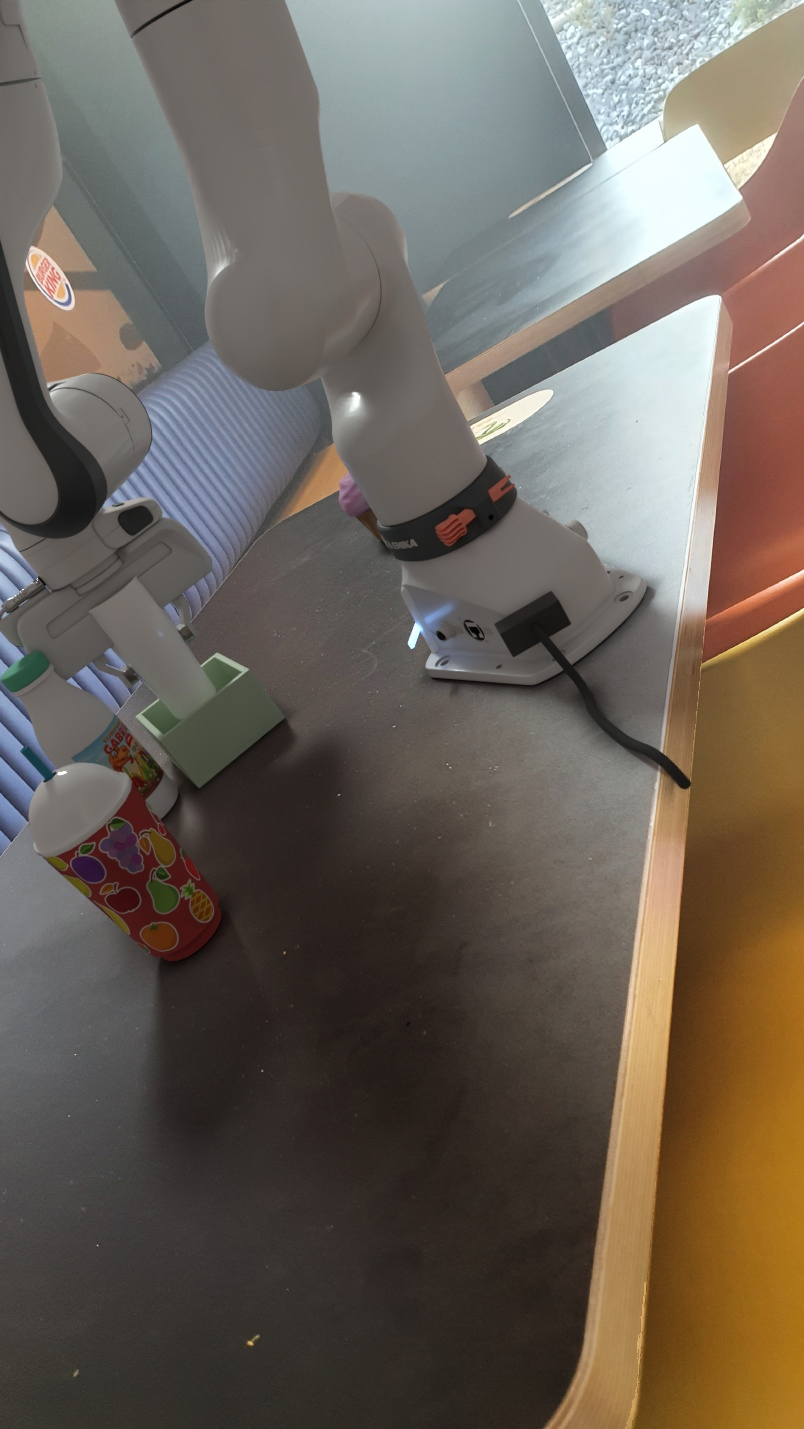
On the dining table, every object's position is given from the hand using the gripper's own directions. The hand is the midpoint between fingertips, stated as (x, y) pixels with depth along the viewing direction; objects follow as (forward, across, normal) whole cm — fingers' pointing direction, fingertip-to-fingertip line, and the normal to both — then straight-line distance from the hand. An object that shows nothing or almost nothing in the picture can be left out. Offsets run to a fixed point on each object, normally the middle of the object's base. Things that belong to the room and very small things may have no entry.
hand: (163, 660), depth 99 cm
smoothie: (+11, -14, -28) cm, 33 cm away
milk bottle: (+11, -11, -2) cm, 16 cm away
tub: (+11, 0, 0) cm, 11 cm away
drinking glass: (+6, 0, 0) cm, 6 cm away
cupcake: (+11, +37, +21) cm, 44 cm away
